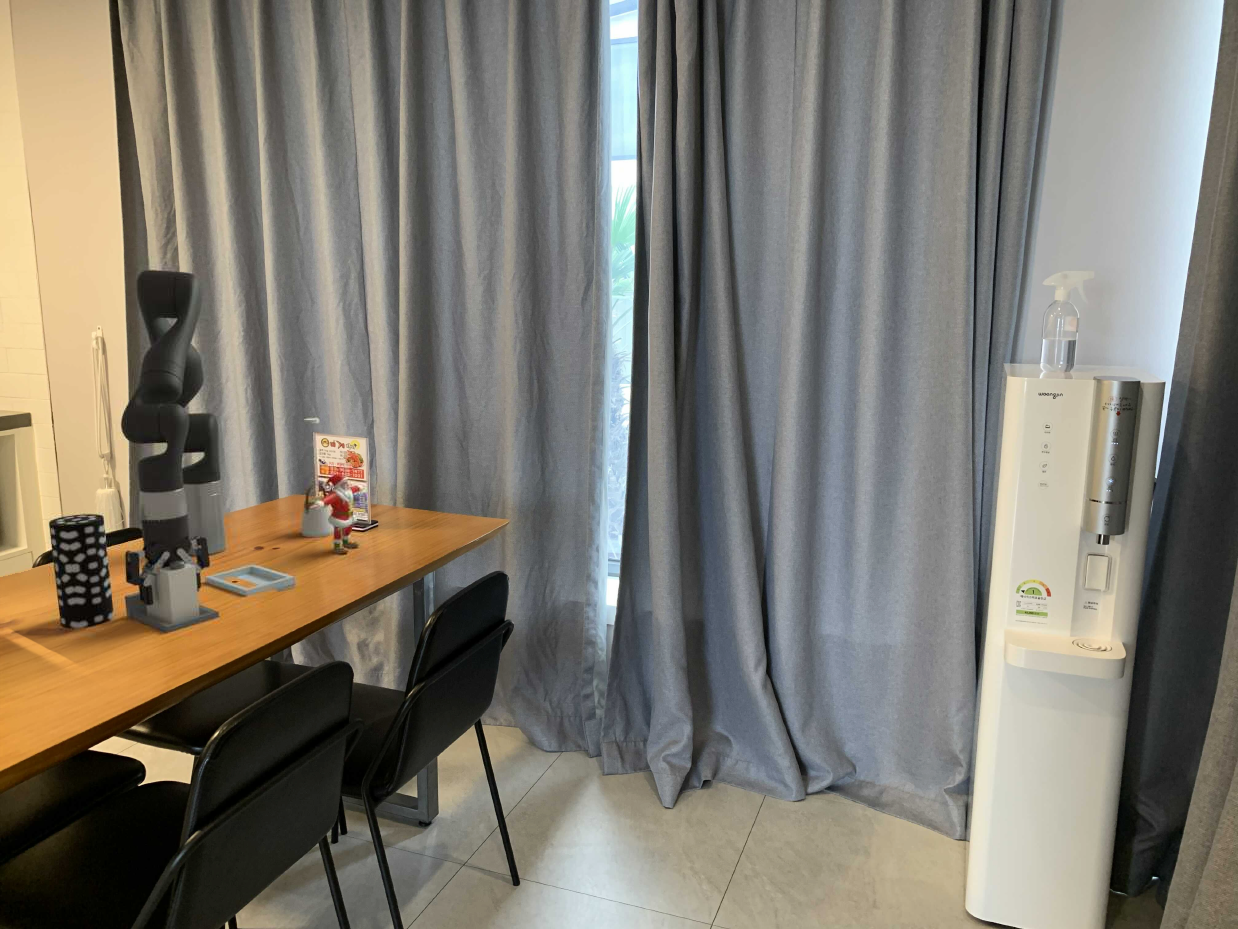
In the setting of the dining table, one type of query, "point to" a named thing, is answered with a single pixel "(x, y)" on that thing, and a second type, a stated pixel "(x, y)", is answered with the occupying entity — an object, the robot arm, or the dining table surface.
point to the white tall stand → (315, 519)
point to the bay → (139, 613)
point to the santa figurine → (340, 511)
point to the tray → (253, 580)
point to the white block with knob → (174, 593)
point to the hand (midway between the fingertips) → (171, 598)
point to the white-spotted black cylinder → (81, 570)
